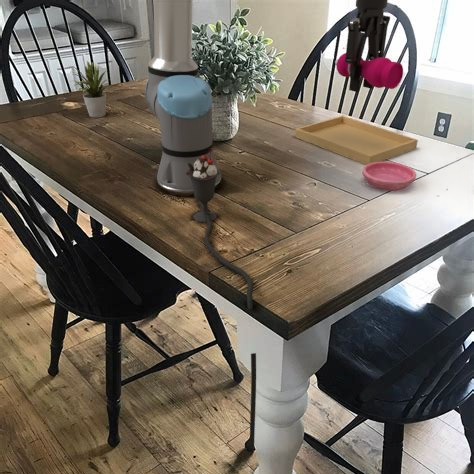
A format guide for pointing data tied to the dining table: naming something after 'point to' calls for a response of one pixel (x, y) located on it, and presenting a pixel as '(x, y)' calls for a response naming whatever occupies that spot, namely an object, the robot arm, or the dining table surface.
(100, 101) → the house plant
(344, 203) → the dining table surface
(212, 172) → the sundae
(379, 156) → the tray
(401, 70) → the pepper mill
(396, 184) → the saucer
